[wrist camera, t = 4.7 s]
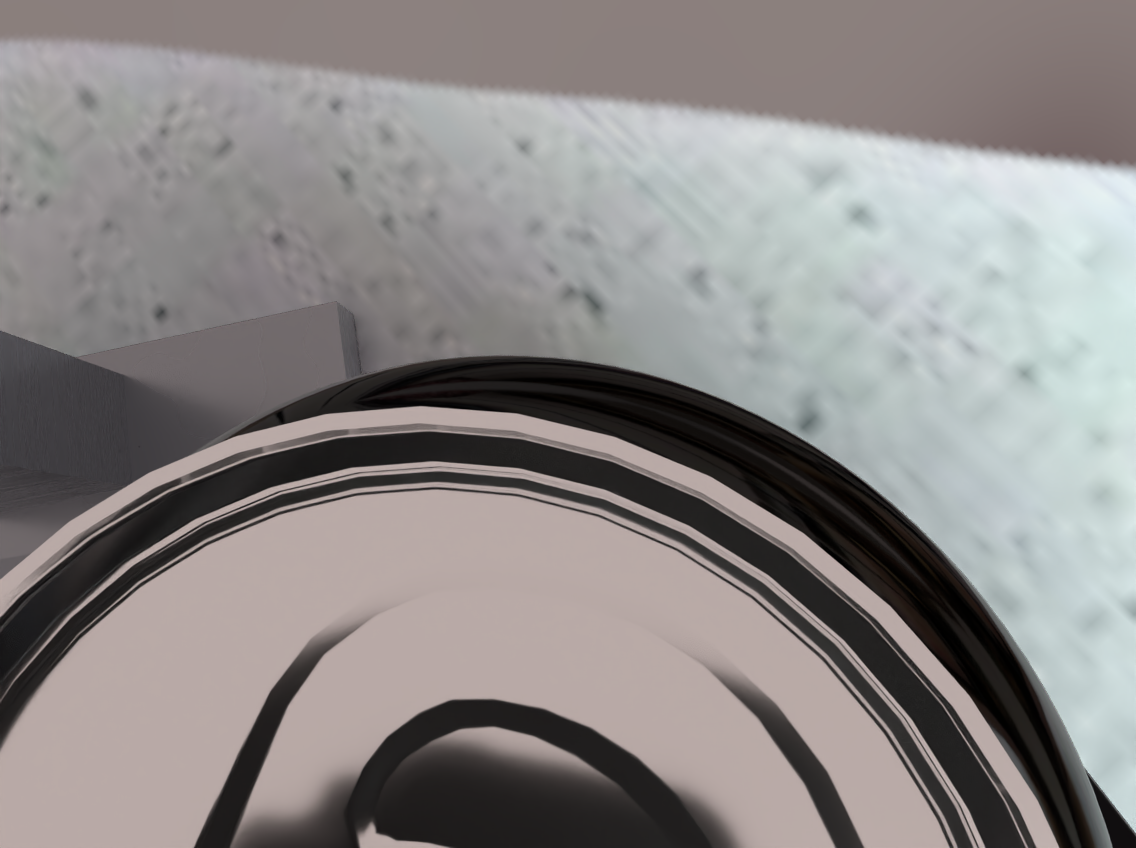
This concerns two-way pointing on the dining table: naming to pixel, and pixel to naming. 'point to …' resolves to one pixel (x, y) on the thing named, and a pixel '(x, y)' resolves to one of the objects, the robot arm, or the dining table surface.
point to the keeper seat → (144, 409)
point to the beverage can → (517, 639)
